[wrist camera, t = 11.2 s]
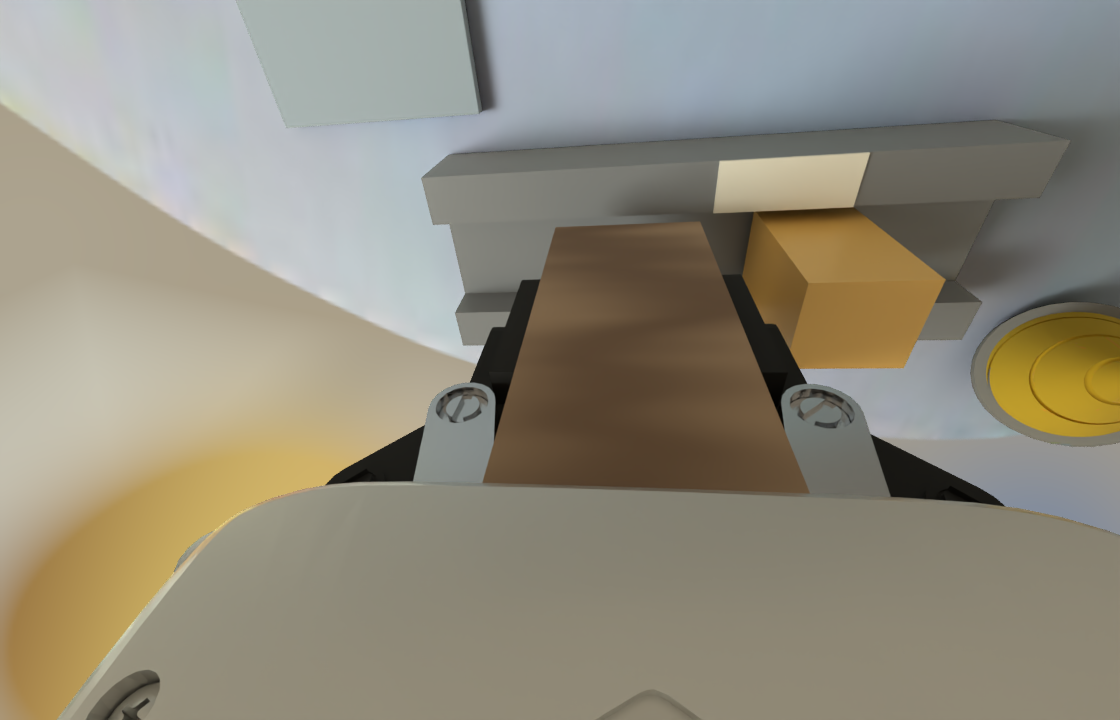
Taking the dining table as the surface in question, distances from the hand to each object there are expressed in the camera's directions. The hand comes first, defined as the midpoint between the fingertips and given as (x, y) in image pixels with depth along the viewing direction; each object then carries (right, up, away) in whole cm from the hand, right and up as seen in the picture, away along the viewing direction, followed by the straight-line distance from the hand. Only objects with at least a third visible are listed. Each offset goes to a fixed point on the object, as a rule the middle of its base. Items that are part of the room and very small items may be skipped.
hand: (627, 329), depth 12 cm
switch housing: (+3, +4, +5) cm, 8 cm away
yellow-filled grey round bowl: (+17, 0, +7) cm, 18 cm away
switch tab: (+6, +3, +4) cm, 8 cm away
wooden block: (0, +1, +2) cm, 2 cm away
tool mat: (-8, +10, +2) cm, 13 cm away
